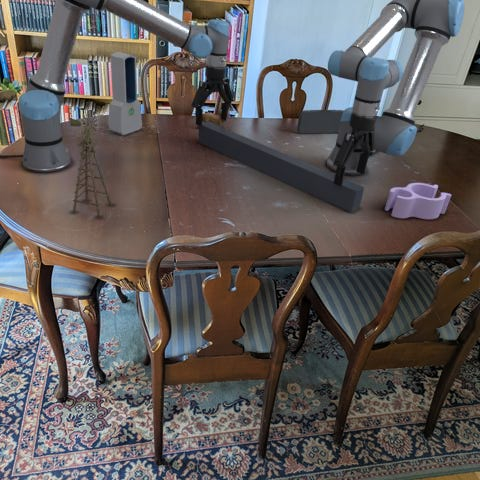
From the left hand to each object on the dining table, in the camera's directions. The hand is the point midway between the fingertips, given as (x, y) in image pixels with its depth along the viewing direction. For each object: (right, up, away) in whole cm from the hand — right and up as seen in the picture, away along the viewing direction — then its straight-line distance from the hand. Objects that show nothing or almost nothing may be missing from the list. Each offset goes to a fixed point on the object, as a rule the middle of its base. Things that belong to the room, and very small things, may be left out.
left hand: (211, 122), depth 183 cm
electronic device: (-36, -1, +10) cm, 37 cm away
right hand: (+46, -27, -33) cm, 63 cm away
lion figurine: (0, +3, +21) cm, 21 cm away
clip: (+69, -37, -28) cm, 83 cm away
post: (+22, -21, -12) cm, 33 cm away
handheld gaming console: (+48, +3, +29) cm, 56 cm away
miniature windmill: (-32, -37, -46) cm, 67 cm away
